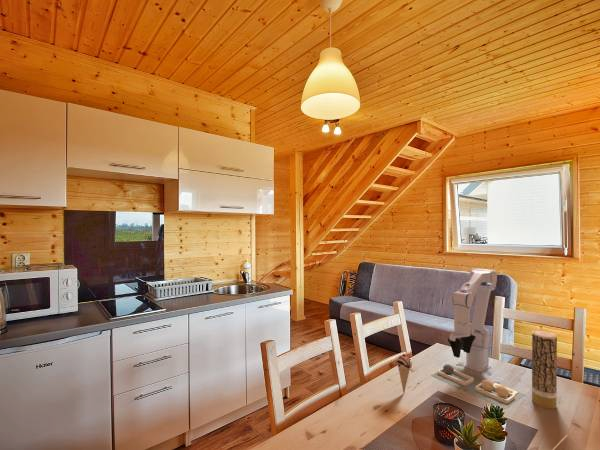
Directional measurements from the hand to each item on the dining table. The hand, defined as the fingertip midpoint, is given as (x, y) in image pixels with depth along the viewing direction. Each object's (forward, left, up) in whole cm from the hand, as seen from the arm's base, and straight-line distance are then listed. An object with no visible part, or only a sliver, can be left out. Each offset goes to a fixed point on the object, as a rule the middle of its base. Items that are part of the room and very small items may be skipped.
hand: (461, 354), depth 128 cm
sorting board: (+1, +6, -10) cm, 12 cm away
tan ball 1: (+2, +11, -9) cm, 15 cm away
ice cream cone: (+29, -6, -10) cm, 31 cm away
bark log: (-6, +26, -10) cm, 29 cm away
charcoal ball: (+2, -4, -9) cm, 11 cm away
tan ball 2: (+2, +16, -9) cm, 19 cm away
